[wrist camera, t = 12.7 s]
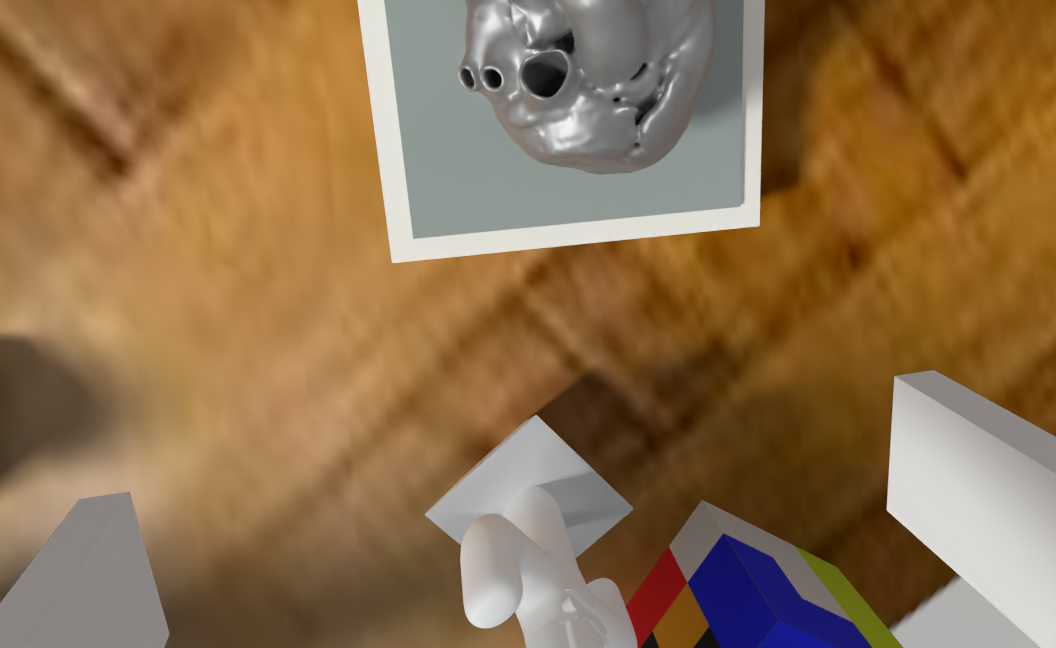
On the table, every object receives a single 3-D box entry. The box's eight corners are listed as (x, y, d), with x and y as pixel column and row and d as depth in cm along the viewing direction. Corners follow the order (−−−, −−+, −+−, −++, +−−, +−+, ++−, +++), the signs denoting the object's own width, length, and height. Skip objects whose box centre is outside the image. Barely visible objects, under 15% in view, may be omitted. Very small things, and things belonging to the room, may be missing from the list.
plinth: (395, 242, 37) (392, 264, 33) (344, -149, 32) (333, -179, 27) (726, 209, 38) (762, 227, 34) (730, -168, 33) (772, -200, 29)
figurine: (531, 568, 43) (584, 813, 29) (408, 462, 40) (401, 678, 26) (629, 484, 43) (733, 695, 28) (511, 369, 40) (561, 541, 25)
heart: (558, 232, 33) (689, 268, 21) (387, 61, 30) (434, -4, 18) (720, 55, 33) (933, -2, 22) (567, -132, 30) (723, -313, 19)
